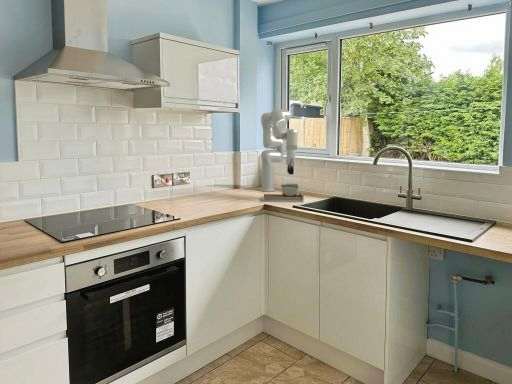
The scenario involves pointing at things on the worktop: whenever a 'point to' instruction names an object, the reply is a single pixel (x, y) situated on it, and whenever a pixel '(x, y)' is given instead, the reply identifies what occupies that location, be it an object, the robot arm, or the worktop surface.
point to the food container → (289, 190)
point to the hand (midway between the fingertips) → (290, 173)
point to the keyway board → (282, 198)
